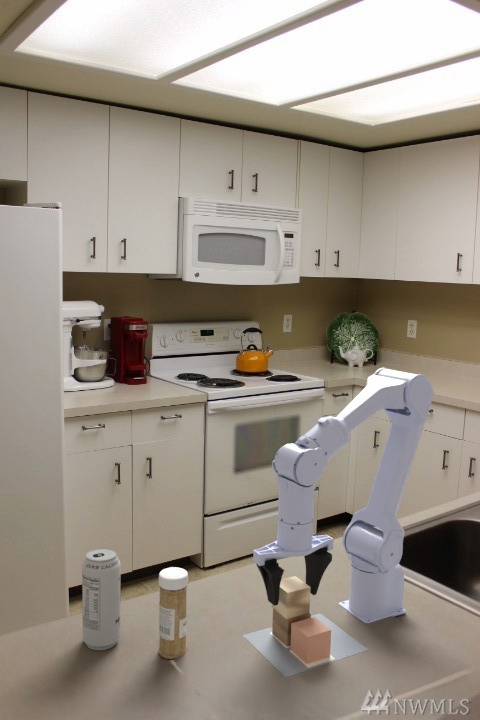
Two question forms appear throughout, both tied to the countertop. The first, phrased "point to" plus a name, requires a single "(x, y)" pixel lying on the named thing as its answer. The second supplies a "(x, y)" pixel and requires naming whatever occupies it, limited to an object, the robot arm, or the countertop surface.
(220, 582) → the countertop surface
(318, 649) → the terracotta block
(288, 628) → the walnut block
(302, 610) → the maple block
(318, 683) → the countertop surface
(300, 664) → the build board
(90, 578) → the energy drink can
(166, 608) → the sprinkles bottle
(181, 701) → the countertop surface
